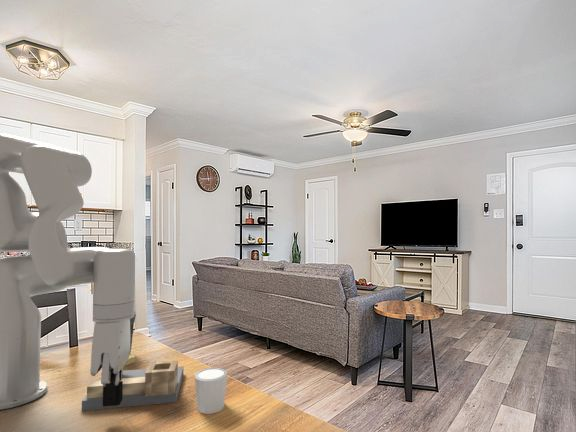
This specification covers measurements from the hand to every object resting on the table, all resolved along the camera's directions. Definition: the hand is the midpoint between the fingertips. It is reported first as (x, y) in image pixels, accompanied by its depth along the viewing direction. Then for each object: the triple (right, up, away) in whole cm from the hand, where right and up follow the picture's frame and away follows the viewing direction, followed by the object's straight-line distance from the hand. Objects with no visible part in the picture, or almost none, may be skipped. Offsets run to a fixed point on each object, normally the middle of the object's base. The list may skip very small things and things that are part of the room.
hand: (112, 403), depth 69 cm
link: (+1, -2, +8) cm, 8 cm away
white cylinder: (+18, -4, +5) cm, 19 cm away
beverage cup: (-15, -5, +36) cm, 39 cm away
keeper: (-7, -4, +16) cm, 18 cm away
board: (-1, -4, +13) cm, 13 cm away
